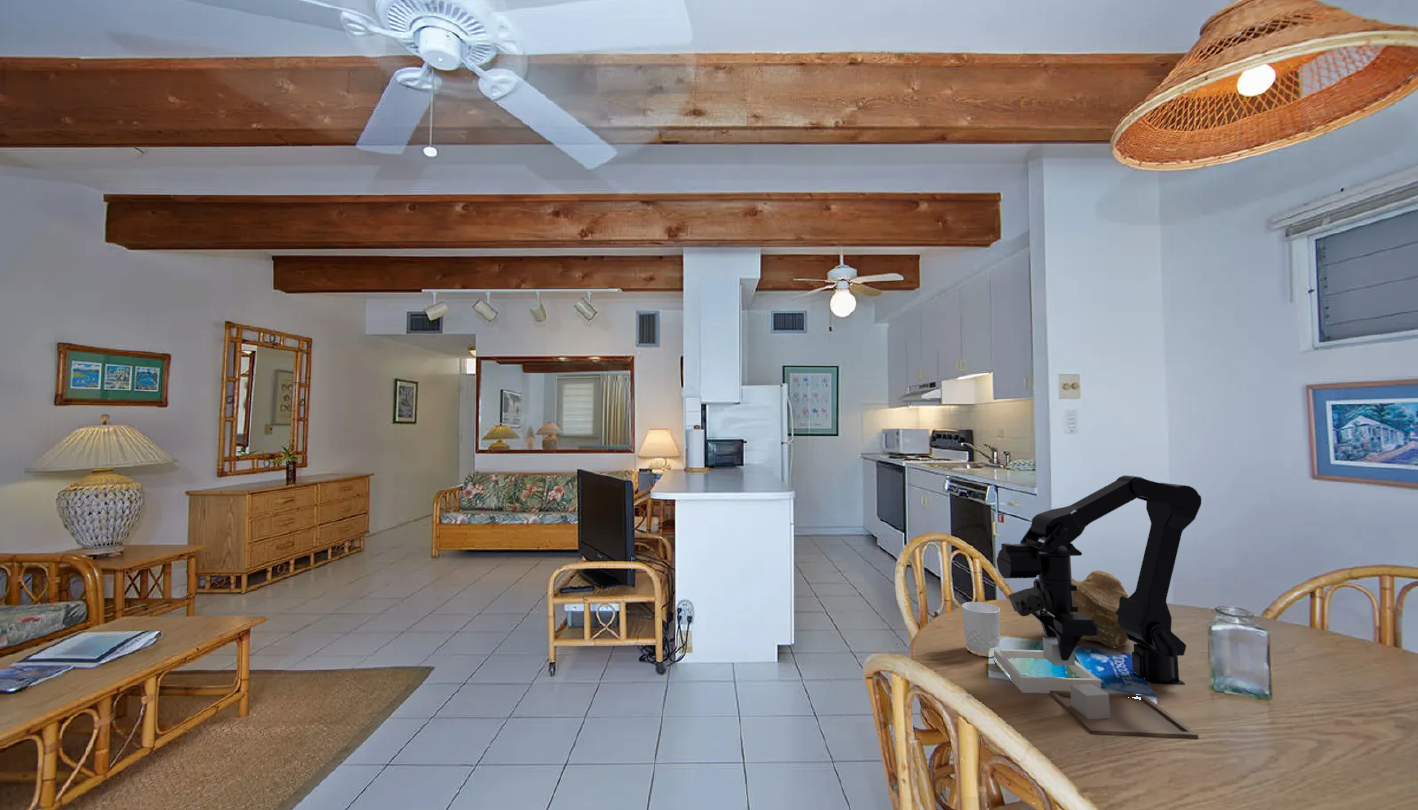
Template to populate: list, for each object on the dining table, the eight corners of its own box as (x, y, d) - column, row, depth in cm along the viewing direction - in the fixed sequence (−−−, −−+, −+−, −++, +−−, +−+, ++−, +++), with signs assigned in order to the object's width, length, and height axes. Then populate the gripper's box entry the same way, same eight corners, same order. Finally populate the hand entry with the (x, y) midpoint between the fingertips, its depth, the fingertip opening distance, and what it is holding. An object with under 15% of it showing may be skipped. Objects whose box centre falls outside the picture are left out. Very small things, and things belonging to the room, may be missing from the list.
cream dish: (1063, 666, 118) (1063, 650, 118) (1101, 697, 104) (1100, 680, 104) (994, 664, 120) (993, 649, 120) (1022, 695, 106) (1021, 677, 106)
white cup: (998, 661, 121) (996, 614, 121) (959, 653, 126) (958, 608, 126) (1004, 649, 127) (1002, 605, 128) (967, 642, 132) (966, 599, 132)
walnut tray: (1142, 699, 103) (1142, 693, 103) (1198, 741, 89) (1198, 734, 89) (1050, 696, 105) (1050, 690, 105) (1091, 736, 91) (1090, 730, 91)
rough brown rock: (1104, 663, 120) (1108, 595, 120) (1032, 632, 136) (1035, 572, 135) (1165, 647, 130) (1169, 584, 130) (1092, 620, 145) (1095, 563, 145)
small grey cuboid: (1093, 706, 100) (1091, 683, 100) (1110, 718, 96) (1108, 694, 96) (1071, 707, 100) (1070, 684, 100) (1087, 719, 96) (1086, 695, 96)
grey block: (1064, 657, 113) (1063, 637, 113) (1074, 665, 109) (1073, 644, 109) (1043, 656, 114) (1042, 636, 114) (1053, 664, 110) (1052, 644, 110)
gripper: (995, 565, 123) (998, 637, 122) (1033, 590, 104) (1037, 674, 103) (1049, 566, 121) (1053, 638, 120) (1097, 590, 103) (1102, 676, 102)
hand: (1059, 655), depth 112 cm, fingers closed on grey block, 4 cm apart
